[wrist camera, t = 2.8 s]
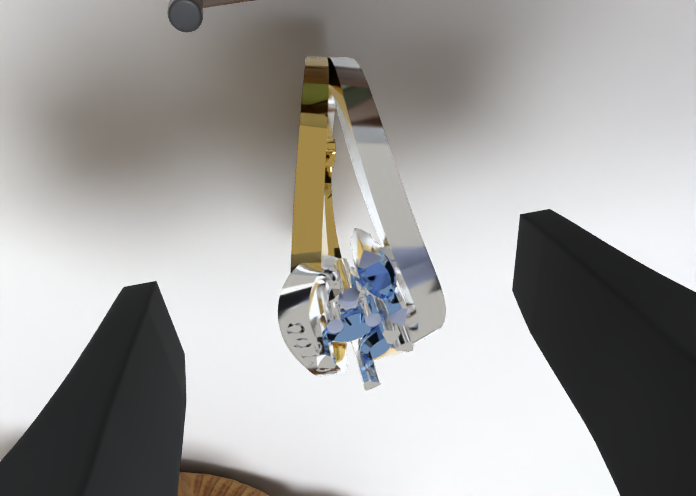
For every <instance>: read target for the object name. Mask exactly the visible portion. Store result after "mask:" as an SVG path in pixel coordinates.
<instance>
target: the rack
mask: <svg viewBox="0 0 696 496" xmlns="http://www.w3.org/2000/svg"><path fill="white" fill-rule="evenodd" d="M247 1H254V0H170V3H169V8H168V18H169V21H170V23H171V24H172V25H173V26H174V27H175V28H176V29H177V30H179V31H182V32H192V31H195V30H196V29H198V28H199V27H200V25H201V23H202V20H203V8H206V7H213V6H220V5H226V4H233V3H240V2H247Z"/></svg>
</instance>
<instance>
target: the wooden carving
mask: <svg viewBox="0 0 696 496" xmlns="http://www.w3.org/2000/svg"><path fill="white" fill-rule="evenodd" d="M177 496H270V495H268V494H266V493H264V492H262V491H260V490H258V489H255V488H253V487H251V486H249V485H247V484H243V483H240V482H238V481H236V480H233V479H229V478H224V477H219V476H215V475H210V474H198V473H188V472H180V475H179V485H178V495H177Z"/></svg>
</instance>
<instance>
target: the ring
mask: <svg viewBox="0 0 696 496" xmlns="http://www.w3.org/2000/svg"><path fill="white" fill-rule="evenodd" d="M335 108H336V109H337V112H338V116H339V120H340V123H341V127H342V131H343V134H344V138H345V141H346V145H347V148H348V152H349V155H350V158H351V161H352V165H353V168H354V171H355V174H356V177H357V180H358V183H359V186H360V189H361V192H362V195H363V198H364V201H365V203H366V206H367V209H368V212H369V214H370V217H371V219H372V222H373V225H374V227H375V230H376V232H377V235H378V237H379V240H380V242H381V244H382V246H381V245H380V244H379V243H378V242H376V241H374V240H373V238H372V236H371V234H370V233H368V232H366V231H364V230H361V229H358V228H354V230H353V233H352V236H351V242H350V245H351V247H352V250H353V260H354V264H355V267H356V268H354V267H351V265H350V262H349V261H348V260H347V259H345V258H342V257H341V253H340V249H339V245H338V240H337V235H336V229H335V222H334V214H333V204H332V188H331V168H334V163H335V139H333V125H334V115H335ZM396 280H397V281H398V283H399V285H400V288H401V290H402V293H403V296H404V299H405V302H406V304H405V302H404V300H403V298H402V296H401V294H400V292H399V290H398V288H397V285H396ZM445 315H446V306H445V300H444V296H443V292H442V289H441V286H440V283H439V280H438V278H437V275H436V272H435V270H434V267H433V265H432V262H431V260H430V257H429V255H428V252H427V250H426V247H425V245H424V242H423V240H422V237H421V235H420V232H419V229H418V227H417V224H416V221H415V218H414V216H413V213H412V210H411V207H410V205H409V202H408V199H407V196H406V193H405V190H404V187H403V184H402V182H401V179H400V176H399V173H398V170H397V167H396V164H395V161H394V158H393V155H392V152H391V149H390V146H389V144H388V141H387V138H386V135H385V132H384V129H383V126H382V123H381V120H380V117H379V114H378V111H377V108H376V106H375V103H374V100H373V97H372V94H371V91H370V89H369V86H368V83H367V81H366V78H365V76H364V74H363V72H362V70H361V68H360V66H359V65H358V63H357V62H356V61H355V60H354V59H352V58H344V57H305V70H304V81H303V92H302V103H301V115H300V127H299V140H298V153H297V166H296V181H295V196H294V213H293V231H292V252H291V274H290V275H289V277H288V278H287V280H286V282H285V284H284V286H283V288H282V291H281V294H280V298H279V304H278V321H279V327H280V331H281V334H282V337H283V339H284V341H285V343H286V345H287V347H288V348H289V350H290V351H291V353H292V354H293V355H294V356H295V358H296V359H297V360H298V361H299V362H300V363H301V364H302V365H303V366H304V367H305V368H307V369H308V370H309V371H310V372H311V373H313V374H314V375H316V376H318V377H319V376H326V375H333V374H342V373H347V347H346V342H349V341H350V342H351V343H352V346H353V349H354V353H355V356H356V360H357V364H358V367H359V371H360V374H361V378H362V381H363V385H364V388H365V390H369V389H372V388H374V387H376V386H379V385H381V382H380V378H379V375H378V372H377V369H376V365H375V362H374V360H376V359H380V358H384V357H388V356H392V355H396V354H400V353H402V352H403V351H406V352H409V351H412V350H413V345H414V344H416V343H418V342H420V341H421V340H423V339H425V338H427V337H428V336H430V335H432V334H434V333H435V332H437V331H438V330H439V329H440V328H441V327H442V325H443V323H444V320H445Z"/></svg>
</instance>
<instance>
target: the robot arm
mask: <svg viewBox="0 0 696 496" xmlns="http://www.w3.org/2000/svg"><path fill="white" fill-rule="evenodd" d="M512 291H513V293H514V296H515V298H516V301H517V303H518V306H519V308H520V310H521V313H522V315H523V317H524V320H525V322H526V324H527V326H528V328H529V331H530V333H531V335H532V336H533V338H534V340H535V341H536V343H537V345H538V347H539V348H540V350H541V352H542V353H543V355H544V357H545V358H546V360H547V362H548V363H549V365H550V367H551V368H552V370H553V372H554V373H555V375H556V376H557V378H558V380H559V381H560V383H561V385H562V386H563V388H564V390H565V391H566V393H567V395H568V396H569V398H570V399H571V401H572V403H573V404H574V406H575V408H576V409H577V411H578V413H579V414H580V416H581V418H582V419H583V421H584V422H585V424H586V426H587V428H588V430H589V432H590V433H591V435H592V437H593V439H594V441H595V443H596V445H597V447H598V449H599V451H600V453H601V455H602V457H603V459H604V461H605V464H606V466H607V468H608V470H609V472H610V474H611V476H612V478H613V480H614V483H615V485H616V487H617V489H618V491H619V494H620V496H696V292H694V291H692V290H690V289H688V288H686V287H684V286H682V285H680V284H678V283H676V282H675V281H673V280H671V279H669V278H667V277H665V276H663V275H661V274H659V273H658V272H656V271H654V270H652V269H650V268H648V267H647V266H645V265H643V264H641V263H640V262H638V261H636V260H634V259H633V258H631V257H629V256H627V255H626V254H624V253H622V252H621V251H619V250H617V249H616V248H614V247H612V246H611V245H609V244H607V243H606V242H604V241H602V240H601V239H599V238H597V237H596V236H594V235H593V234H591V233H589V232H588V231H586V230H584V229H583V228H581V227H579V226H578V225H576V224H575V223H573V222H571V221H570V220H568V219H566V218H565V217H563V216H561V215H559V214H558V213H556V212H554V211H552V210H550V209H547V210H542V211H536V212H531V213H525V214H520V221H519V231H518V240H517V250H516V260H515V269H514V279H513V288H512ZM185 411H186V375H185V354H184V351H183V349H182V346H181V343H180V341H179V338H178V336H177V333H176V331H175V328H174V325H173V323H172V320H171V318H170V315H169V313H168V310H167V307H166V305H165V302H164V300H163V297H162V295H161V292H160V289H159V287H158V284H157V282H156V281H154V282H149V283H143V284H138V285H132V286H127V287H124V288H123V289H122V290H121V292H120V293H119V295H118V296H117V298H116V300H115V301H114V303H113V304H112V306H111V308H110V309H109V311H108V313H107V314H106V316H105V318H104V319H103V321H102V322H101V324H100V326H99V327H98V329H97V331H96V332H95V334H94V335H93V337H92V339H91V340H90V342H89V343H88V345H87V346H86V348H85V349H84V351H83V352H82V354H81V355H80V357H79V359H78V360H77V362H76V363H75V365H74V366H73V368H72V369H71V371H70V372H69V374H68V375H67V377H66V378H65V380H64V381H63V382H62V384H61V385H60V387H59V388H58V389H57V391H56V392H55V393H54V395H53V396H52V398H51V399H50V400H49V402H48V403H47V404H46V406H45V407H44V408H43V410H42V411H41V413H40V414H39V415H38V417H37V418H36V419H35V421H34V422H33V423H32V424H31V426H30V427H29V428H28V429H27V431H26V432H25V433H24V434H23V436H22V437H21V438H20V439H19V441H18V442H17V443H16V444H15V446H14V447H13V448H12V449H11V450H10V451H9V452H8V454H7V455H6V456H5V457H4V458H3V459H2V461H1V462H0V496H177V495H178V485H179V475H180V464H181V454H182V444H183V433H184V422H185Z"/></svg>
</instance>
